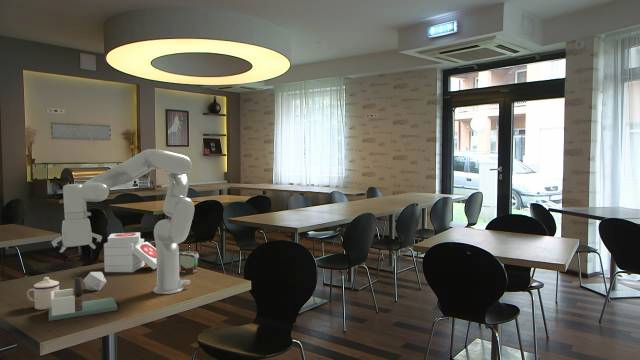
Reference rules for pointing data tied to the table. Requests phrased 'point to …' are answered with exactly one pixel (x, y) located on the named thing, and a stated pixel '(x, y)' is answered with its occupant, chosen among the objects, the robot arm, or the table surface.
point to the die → (94, 281)
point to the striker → (78, 293)
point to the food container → (188, 261)
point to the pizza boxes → (128, 253)
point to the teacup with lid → (43, 293)
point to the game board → (66, 305)
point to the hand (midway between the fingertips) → (78, 260)
